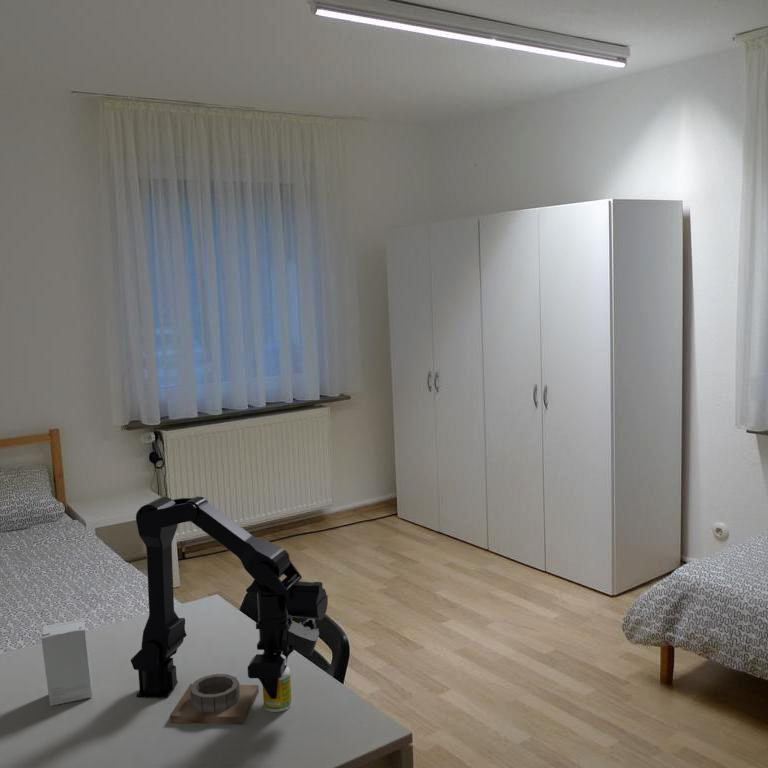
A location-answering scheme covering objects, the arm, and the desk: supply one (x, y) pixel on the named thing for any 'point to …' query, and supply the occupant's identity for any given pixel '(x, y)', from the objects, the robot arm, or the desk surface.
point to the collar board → (217, 716)
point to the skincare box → (67, 662)
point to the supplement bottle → (280, 693)
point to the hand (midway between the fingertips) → (276, 690)
